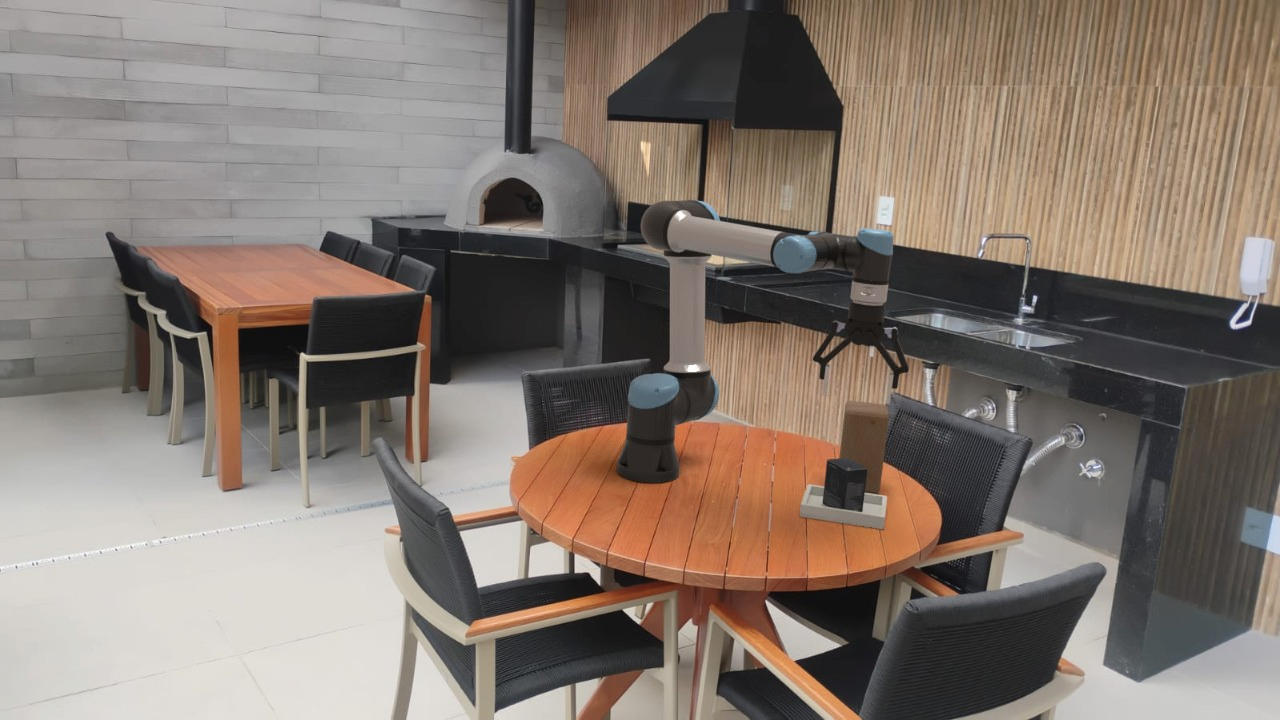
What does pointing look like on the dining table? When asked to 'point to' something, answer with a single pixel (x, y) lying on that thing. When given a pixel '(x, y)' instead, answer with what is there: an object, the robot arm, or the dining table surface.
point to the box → (844, 484)
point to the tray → (817, 510)
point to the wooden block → (865, 439)
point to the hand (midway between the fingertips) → (856, 398)
